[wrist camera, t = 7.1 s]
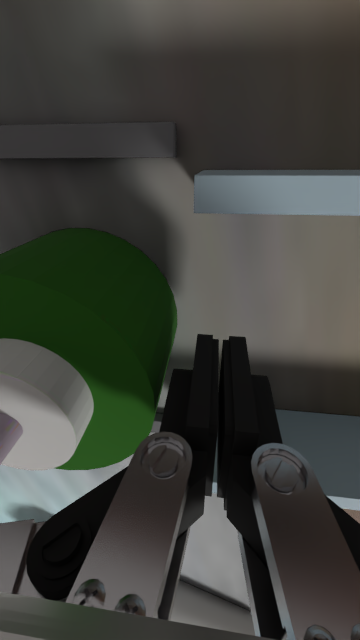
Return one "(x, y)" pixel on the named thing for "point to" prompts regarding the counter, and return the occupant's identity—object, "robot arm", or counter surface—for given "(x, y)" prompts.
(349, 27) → the counter surface
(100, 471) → the counter surface
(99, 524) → the robot arm
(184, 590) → the tube
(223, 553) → the counter surface
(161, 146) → the strips
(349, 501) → the pale blue tray
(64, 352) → the candle
